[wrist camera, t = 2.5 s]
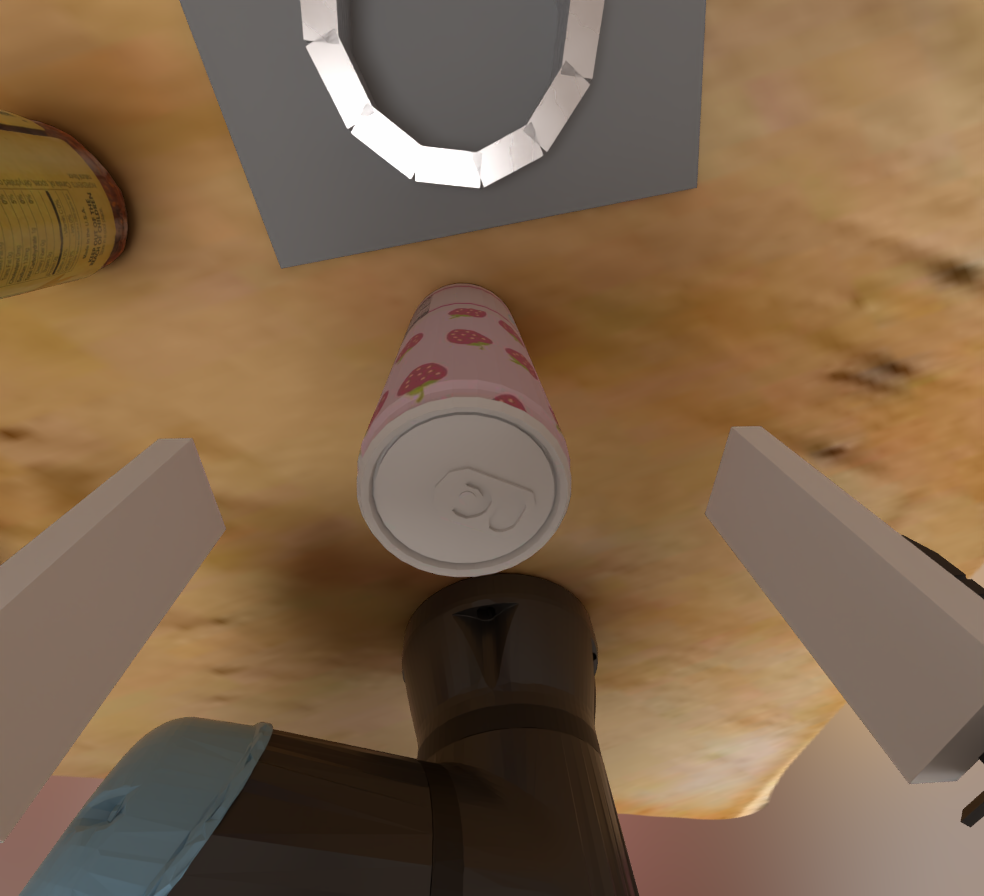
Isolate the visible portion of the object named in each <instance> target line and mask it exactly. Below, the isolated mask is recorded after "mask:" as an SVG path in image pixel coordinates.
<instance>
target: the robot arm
mask: <svg viewBox="0 0 984 896" xmlns="http://www.w3.org/2000/svg"><path fill="white" fill-rule="evenodd" d="M705 515H706V516H707V518H708V519H709V520H710V522H711V523H712V524H713V526H714V527H715V528H716V529H717V531H718V532H719V533H720V535H721V536H722V537H723V539H724V540H725V541H726V543H727V544H728V545H729V547H730V548H731V549H732V551H733V552H734V553H735V555H736V556H737V557H738V559H739V560H740V561H741V562H742V564H743V565H744V566H745V568H746V569H747V570H748V572H749V573H750V574H751V576H752V577H753V578H754V580H755V581H756V582H757V584H758V585H759V586H760V588H761V589H762V590H763V592H764V593H765V594H766V596H767V597H768V598H769V599H770V601H771V602H772V603H773V605H774V606H775V607H776V609H777V610H778V611H779V613H780V614H781V615H782V617H783V618H784V619H785V621H786V622H787V623H788V625H789V626H790V627H791V629H792V630H793V631H794V633H795V634H796V635H797V636H798V638H799V639H800V640H801V642H802V643H803V644H804V646H805V647H806V648H807V650H808V651H809V652H810V654H811V655H812V656H813V658H814V659H815V660H816V662H817V663H818V664H819V666H820V667H821V668H822V669H823V671H824V672H825V673H826V675H827V676H828V677H829V679H830V680H831V681H832V683H833V684H834V685H835V687H836V688H837V689H838V691H839V692H840V693H841V695H842V696H843V697H844V699H845V700H846V701H847V703H848V704H849V705H850V706H851V708H852V709H853V710H854V712H855V713H856V714H857V716H858V717H859V718H860V720H861V721H862V722H863V724H864V725H865V726H866V728H867V729H868V730H869V732H870V733H871V734H872V736H873V737H874V738H875V739H876V741H877V742H878V743H879V745H880V746H881V747H882V749H883V750H884V751H885V753H886V754H887V755H888V757H889V758H890V759H891V761H892V762H893V763H894V765H895V766H896V767H897V768H898V770H899V771H900V772H901V774H902V775H903V776H904V778H905V779H906V780H907V782H908V783H909V784H919V783H935V782H950V781H957V780H958V779H959V778H960V777H961V776H962V775H963V774H964V773H966V771H967V770H969V769H970V768H971V767H972V766H973V765H974V764H975V763H976V762H977V761H978V760H979V759H980V760H981V761H982V762H983V763H984V588H983V587H981V586H980V585H978V584H977V583H976V582H975V581H973V580H972V579H967V578H966V575H965V574H964V573H963V572H961V571H960V570H959V569H958V568H956V567H955V566H954V565H952V564H951V563H950V562H948V561H947V560H946V559H944V558H943V557H942V556H940V555H939V554H938V553H936V552H934V551H932V550H930V549H928V548H927V547H925V546H923V545H921V544H919V543H917V542H915V541H913V540H911V539H909V538H907V537H906V536H904V535H900V534H899V533H898V532H896V531H895V530H894V529H892V528H891V527H890V526H889V525H887V524H886V523H885V522H883V521H882V520H881V519H880V518H878V517H877V516H876V515H874V514H873V513H872V512H871V511H869V510H868V509H867V508H865V507H864V506H863V505H862V504H860V503H859V502H858V501H856V500H855V499H854V498H853V497H851V496H850V495H849V494H847V493H846V492H845V491H844V490H842V489H841V488H840V487H838V486H837V485H836V484H835V483H833V482H832V481H831V480H829V479H828V478H827V477H826V476H824V475H823V474H822V473H820V472H819V471H818V470H817V469H815V468H814V467H813V466H811V465H810V464H809V463H807V462H806V461H805V460H804V459H802V458H801V457H800V456H798V455H797V454H796V453H795V452H793V451H792V450H791V449H789V448H788V447H787V446H786V445H784V444H783V443H782V442H780V441H779V440H778V439H777V438H775V437H774V436H773V435H771V434H770V433H769V432H768V431H766V430H765V429H764V428H762V427H761V426H744V427H731V429H730V433H729V436H728V439H727V442H726V446H725V449H724V452H723V456H722V459H721V462H720V466H719V469H718V472H717V476H716V479H715V482H714V486H713V489H712V492H711V495H710V499H709V502H708V505H707V509H706V512H705ZM225 530H226V528H225V525H224V522H223V520H222V517H221V514H220V511H219V509H218V506H217V503H216V501H215V498H214V495H213V493H212V490H211V487H210V484H209V482H208V479H207V476H206V474H205V471H204V468H203V466H202V463H201V460H200V457H199V455H198V452H197V449H196V447H195V444H194V441H193V439H192V438H178V439H158V440H157V441H156V442H154V443H153V444H152V445H151V446H149V447H148V448H147V449H146V450H144V451H143V452H142V453H141V454H139V455H138V456H137V457H136V458H134V459H133V460H132V461H131V462H129V463H128V464H127V465H126V466H124V467H123V468H122V469H121V470H119V471H118V472H117V473H116V474H114V475H113V476H112V477H111V478H109V479H108V480H107V481H106V482H104V483H103V484H102V485H101V486H99V487H98V488H97V489H96V490H94V491H93V492H92V493H91V494H89V495H88V496H87V497H86V498H84V499H83V500H82V501H81V502H79V503H78V504H77V505H76V506H74V507H73V508H72V509H71V510H69V511H68V512H67V513H66V514H64V515H63V516H62V517H61V518H59V519H58V520H57V521H56V522H54V523H53V524H52V525H51V526H49V527H48V528H47V529H46V530H44V531H43V532H42V533H41V534H39V535H38V536H37V537H36V538H34V539H33V540H32V541H31V542H29V543H28V544H27V545H26V546H24V547H23V548H22V549H21V550H19V551H18V552H17V553H16V554H14V555H13V556H12V557H11V558H9V559H8V560H7V561H6V562H4V563H3V564H2V565H1V566H0V843H3V842H4V841H5V839H6V838H7V837H8V835H9V834H10V833H11V831H12V830H13V828H14V827H15V825H16V824H17V823H18V821H19V820H20V818H21V817H22V815H23V814H24V813H25V811H26V810H27V809H28V807H29V806H30V804H31V803H32V802H33V800H34V799H35V797H36V796H37V794H38V793H39V792H40V790H41V789H42V787H43V786H44V785H45V783H46V782H47V780H48V779H49V778H50V776H51V775H52V773H53V772H54V771H55V769H56V768H57V766H58V765H59V764H60V762H61V761H62V759H63V758H64V757H65V755H66V754H67V752H68V751H69V749H70V748H71V747H72V745H73V744H74V742H75V741H76V740H77V738H78V737H79V735H80V734H81V733H82V731H83V730H84V728H85V727H86V726H87V724H88V723H89V721H90V720H91V719H92V717H93V716H94V714H95V713H96V711H97V710H98V709H99V707H100V706H101V704H102V703H103V702H104V700H105V699H106V697H107V696H108V695H109V693H110V692H111V690H112V689H113V688H114V686H115V685H116V683H117V682H118V681H119V679H120V678H121V676H122V675H123V673H124V672H125V671H126V669H127V668H128V666H129V665H130V664H131V662H132V661H133V659H134V658H135V657H136V655H137V654H138V652H139V651H140V650H141V648H142V647H143V645H144V644H145V643H146V641H147V640H148V638H149V637H150V635H151V634H152V633H153V631H154V630H155V628H156V627H157V626H158V624H159V623H160V621H161V620H162V619H163V617H164V616H165V614H166V613H167V612H168V610H169V609H170V607H171V606H172V605H173V603H174V602H175V600H176V599H177V597H178V596H179V595H180V593H181V592H182V590H183V589H184V588H185V586H186V585H187V583H188V582H189V581H190V579H191V578H192V576H193V575H194V574H195V572H196V571H197V569H198V568H199V567H200V565H201V564H202V562H203V561H204V559H205V558H206V557H207V555H208V554H209V552H210V551H211V550H212V548H213V547H214V545H215V544H216V543H217V541H218V540H219V538H220V537H221V536H222V534H223V533H224V531H225ZM597 664H598V647H597V642H596V638H595V634H594V631H593V628H592V625H591V621H590V618H589V615H588V613H587V611H586V609H585V608H584V606H583V605H582V604H581V602H580V601H579V600H578V599H577V598H576V597H575V596H574V595H572V594H571V593H570V592H569V591H567V590H565V589H564V588H562V587H560V586H559V585H557V584H554V583H552V582H549V581H547V580H544V579H540V578H537V577H532V576H527V575H519V574H493V575H485V576H479V577H474V578H470V579H467V580H463V581H460V582H458V583H455V584H453V585H450V586H448V587H446V588H444V589H442V590H440V591H439V592H437V593H436V594H434V595H433V596H431V597H430V598H429V599H427V600H426V601H425V602H424V603H423V604H422V605H421V606H420V607H419V608H418V609H417V610H416V612H415V613H414V614H413V616H412V617H411V619H410V621H409V623H408V625H407V628H406V631H405V636H404V644H403V652H402V674H403V679H404V682H405V685H406V690H407V696H408V701H409V705H410V710H411V715H412V719H413V724H414V728H415V733H416V737H417V742H418V757H417V759H414V758H409V757H404V756H399V755H395V754H390V753H385V752H380V751H375V750H371V749H366V748H361V747H356V746H351V745H346V744H342V743H337V742H332V741H327V740H322V739H318V738H313V737H308V736H303V735H298V734H293V733H289V732H284V731H279V730H274V729H273V726H272V724H270V723H264V722H260V723H257V724H255V725H254V726H251V725H245V724H238V723H231V722H224V721H218V720H211V719H204V718H197V717H185V718H179V719H175V720H172V721H169V722H166V723H164V724H162V725H160V726H158V727H157V728H155V729H154V730H152V731H151V732H149V733H148V734H146V735H145V736H144V737H143V738H141V739H140V740H139V741H138V742H137V743H136V744H135V745H134V746H133V747H132V748H131V749H130V750H129V751H128V752H127V753H126V754H125V755H124V757H123V758H122V759H121V760H120V761H119V762H118V763H117V765H116V766H115V767H114V768H113V769H112V771H111V772H110V773H109V774H108V776H107V777H106V778H105V779H104V780H103V782H102V783H101V784H100V786H99V787H98V788H97V789H96V791H95V792H94V793H93V795H92V796H91V797H90V798H89V800H88V801H87V802H86V804H85V805H84V806H83V808H82V809H81V810H80V812H79V813H78V814H77V816H76V817H75V818H74V820H73V821H72V822H71V824H70V825H69V827H68V828H67V829H66V830H65V832H64V833H63V835H62V836H61V837H60V839H59V840H58V841H57V843H56V845H55V846H54V847H53V848H52V850H51V851H50V853H49V854H48V855H47V857H46V858H45V860H44V861H43V862H42V864H41V865H40V867H39V868H38V869H37V871H36V872H35V873H34V875H33V876H32V878H31V879H30V880H29V882H28V883H27V885H26V886H25V887H24V889H23V890H22V892H21V893H20V894H19V896H639V893H638V889H637V886H636V882H635V879H634V875H633V871H632V867H631V864H630V860H629V856H628V852H627V848H626V845H625V841H624V837H623V834H622V830H621V826H620V823H619V819H618V815H617V811H616V807H615V804H614V800H613V796H612V793H611V789H610V785H609V781H608V778H607V774H606V770H605V766H604V763H603V760H602V756H601V752H600V748H599V744H598V740H597V736H596V731H595V707H596V686H595V673H596V670H597ZM983 816H984V791H983V792H982V793H981V794H980V795H979V796H977V797H976V798H975V799H974V800H973V801H972V802H971V803H970V804H968V805H967V806H966V807H965V808H964V809H963V811H962V817H961V822H962V823H964V824H966V825H967V826H969V827H971V826H973V825H974V824H975V823H976V822H977V821H978V820H980V819H981V818H982V817H983Z"/></svg>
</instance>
